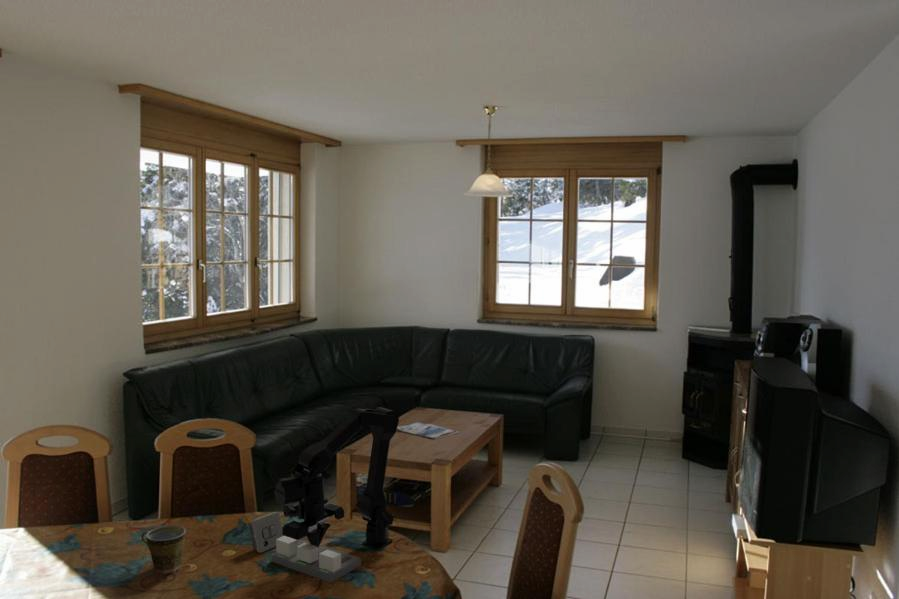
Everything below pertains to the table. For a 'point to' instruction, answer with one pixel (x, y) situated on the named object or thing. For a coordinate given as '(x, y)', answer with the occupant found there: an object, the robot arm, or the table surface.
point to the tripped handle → (307, 553)
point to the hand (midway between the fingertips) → (314, 551)
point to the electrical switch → (265, 531)
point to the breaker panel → (324, 568)
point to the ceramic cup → (165, 547)
